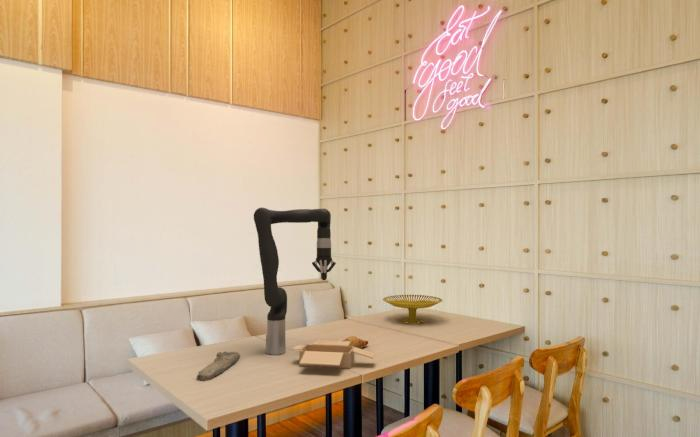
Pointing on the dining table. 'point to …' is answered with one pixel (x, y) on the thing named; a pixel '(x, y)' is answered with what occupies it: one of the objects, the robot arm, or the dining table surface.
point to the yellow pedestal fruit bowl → (412, 305)
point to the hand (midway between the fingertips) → (324, 280)
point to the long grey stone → (218, 365)
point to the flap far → (363, 352)
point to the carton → (329, 347)
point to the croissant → (356, 342)
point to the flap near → (322, 358)
